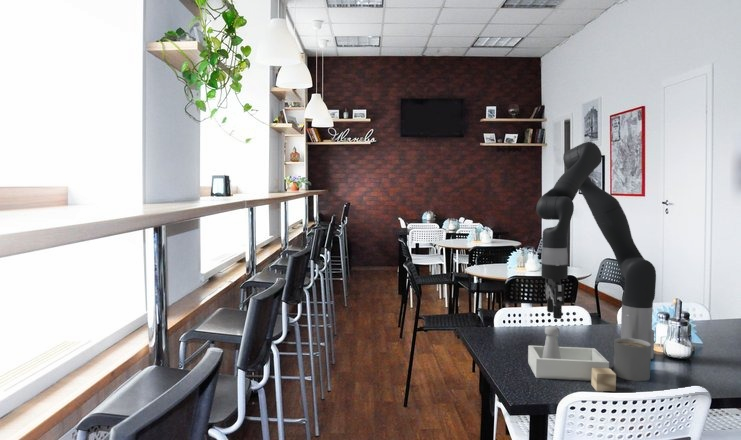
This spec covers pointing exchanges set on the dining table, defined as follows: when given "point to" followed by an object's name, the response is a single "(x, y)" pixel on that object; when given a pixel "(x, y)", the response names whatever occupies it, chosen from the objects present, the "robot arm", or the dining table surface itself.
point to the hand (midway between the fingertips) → (554, 315)
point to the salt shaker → (551, 343)
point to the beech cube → (603, 379)
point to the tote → (566, 363)
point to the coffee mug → (632, 359)
